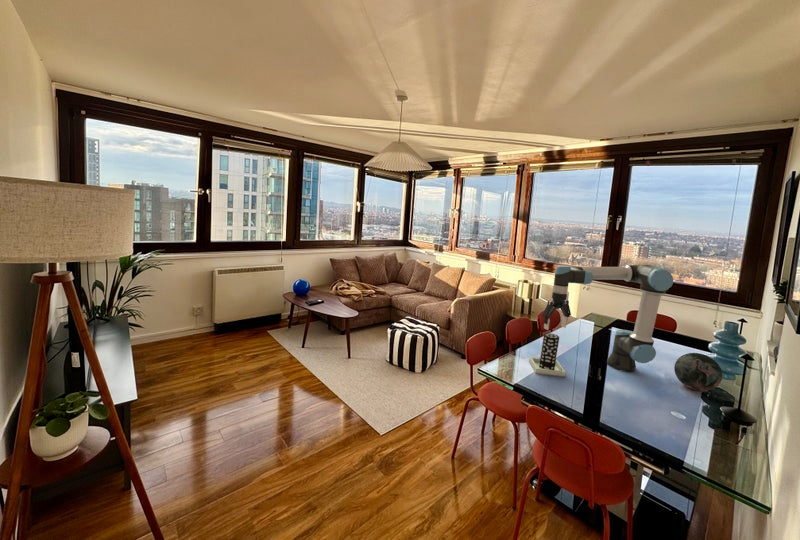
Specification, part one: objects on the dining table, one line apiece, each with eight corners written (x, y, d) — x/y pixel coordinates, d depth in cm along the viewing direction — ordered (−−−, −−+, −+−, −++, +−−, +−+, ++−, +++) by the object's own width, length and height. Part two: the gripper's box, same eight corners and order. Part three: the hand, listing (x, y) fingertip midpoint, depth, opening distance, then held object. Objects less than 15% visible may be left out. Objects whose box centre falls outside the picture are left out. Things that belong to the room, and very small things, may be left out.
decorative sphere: (662, 378, 202) (669, 345, 199) (697, 380, 202) (705, 348, 198) (689, 396, 183) (697, 360, 179) (728, 399, 182) (737, 364, 179)
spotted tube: (545, 372, 198) (551, 338, 195) (536, 365, 206) (540, 333, 203) (557, 370, 201) (562, 338, 198) (547, 364, 209) (552, 332, 205)
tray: (556, 364, 211) (557, 360, 210) (565, 377, 195) (565, 372, 194) (529, 361, 212) (529, 357, 212) (535, 373, 197) (536, 368, 196)
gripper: (570, 289, 206) (565, 324, 209) (538, 291, 196) (533, 327, 199) (581, 293, 199) (575, 328, 203) (548, 295, 189) (543, 332, 193)
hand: (554, 328), depth 201 cm, fingers open, 13 cm apart
